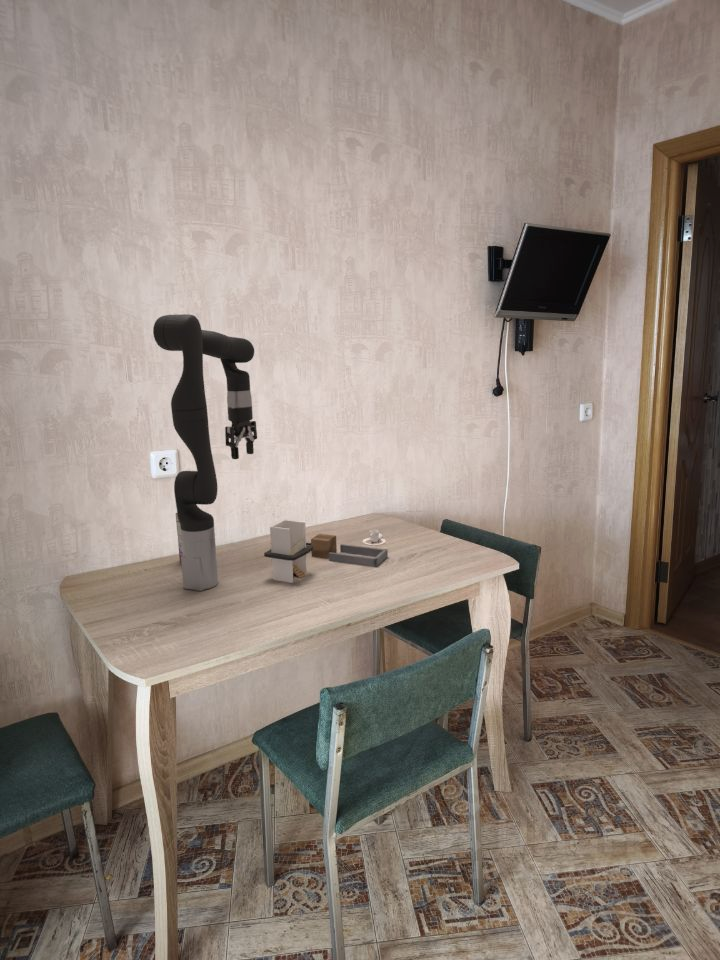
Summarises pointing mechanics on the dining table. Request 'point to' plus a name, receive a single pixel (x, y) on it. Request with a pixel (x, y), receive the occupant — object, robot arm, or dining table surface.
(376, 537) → the teacup and saucer
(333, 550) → the walnut block
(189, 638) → the dining table surface
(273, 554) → the white collared box
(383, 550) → the tray
